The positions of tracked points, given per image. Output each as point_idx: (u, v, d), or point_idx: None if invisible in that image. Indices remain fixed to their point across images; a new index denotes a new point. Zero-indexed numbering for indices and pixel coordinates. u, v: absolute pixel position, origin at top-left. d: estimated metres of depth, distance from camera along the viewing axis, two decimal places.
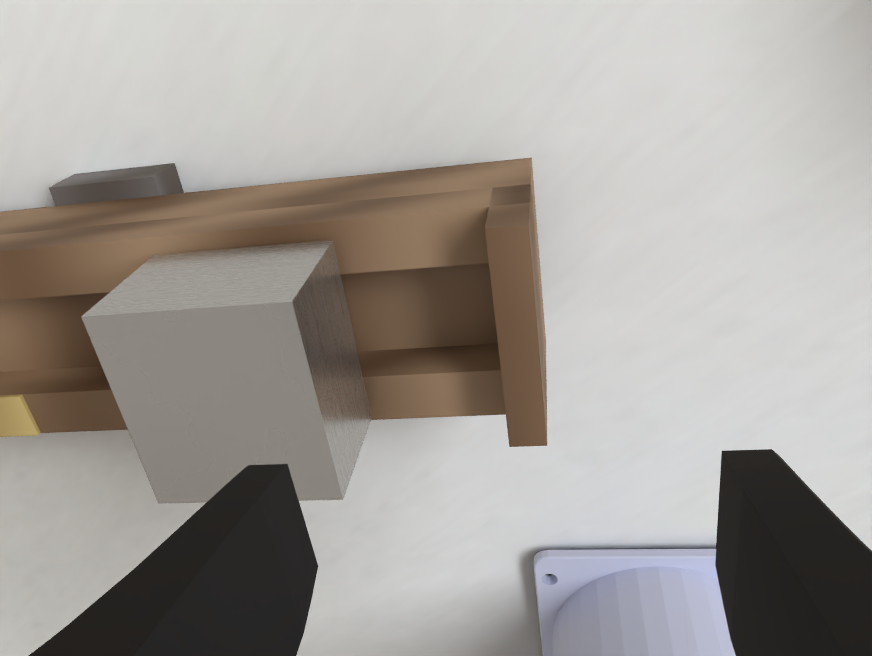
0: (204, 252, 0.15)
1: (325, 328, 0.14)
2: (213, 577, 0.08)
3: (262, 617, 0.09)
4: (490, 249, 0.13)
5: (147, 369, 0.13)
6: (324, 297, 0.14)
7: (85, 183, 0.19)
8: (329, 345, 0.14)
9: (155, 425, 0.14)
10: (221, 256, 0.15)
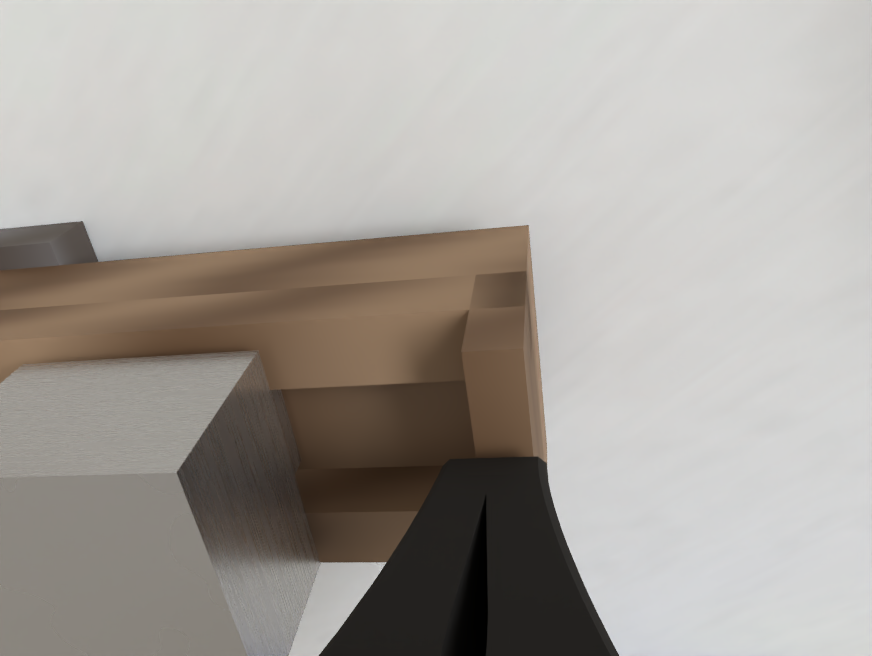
0: (88, 363, 0.11)
1: (241, 482, 0.10)
2: (468, 577, 0.08)
3: None
4: (469, 379, 0.10)
5: None
6: (240, 438, 0.10)
7: None
8: (248, 503, 0.10)
9: (6, 615, 0.10)
10: (107, 372, 0.11)
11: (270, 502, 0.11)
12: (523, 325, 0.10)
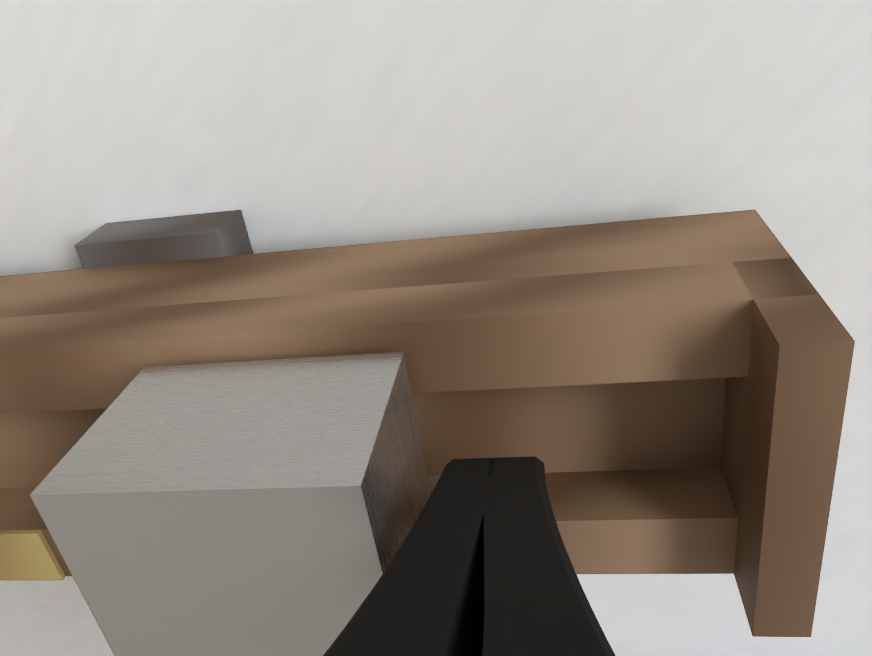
0: (216, 365, 0.11)
1: (398, 493, 0.09)
2: (472, 577, 0.08)
3: None
4: (782, 375, 0.09)
5: (133, 566, 0.09)
6: (396, 446, 0.09)
7: (124, 239, 0.14)
8: (403, 515, 0.09)
9: (146, 637, 0.09)
10: (241, 375, 0.10)
11: (416, 513, 0.10)
12: (833, 315, 0.09)
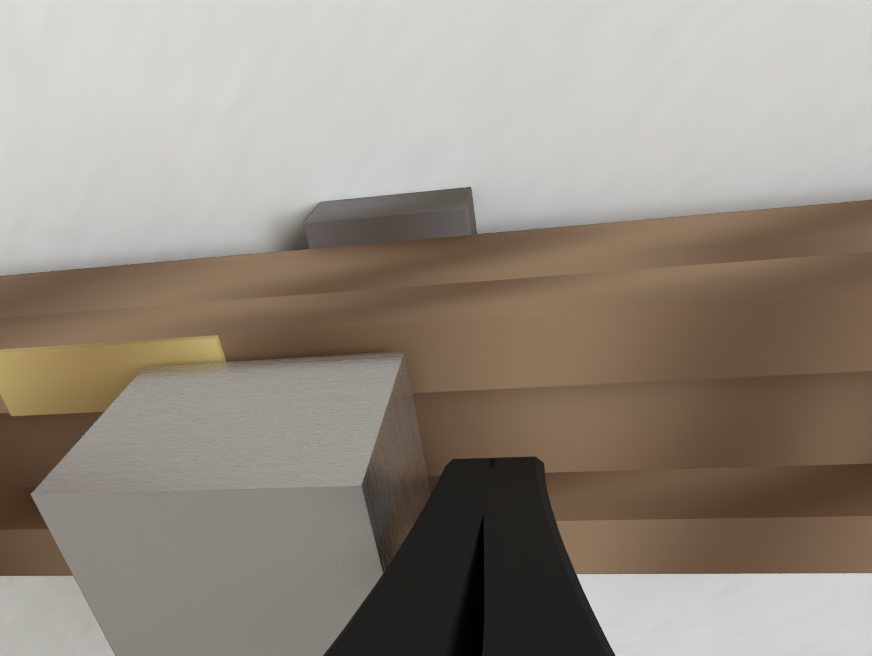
0: (217, 365, 0.11)
1: (399, 493, 0.09)
2: (472, 577, 0.08)
3: None
4: None
5: (133, 566, 0.09)
6: (397, 446, 0.09)
7: (358, 217, 0.13)
8: (404, 515, 0.10)
9: (147, 636, 0.09)
10: (242, 375, 0.10)
11: (416, 513, 0.10)
12: None
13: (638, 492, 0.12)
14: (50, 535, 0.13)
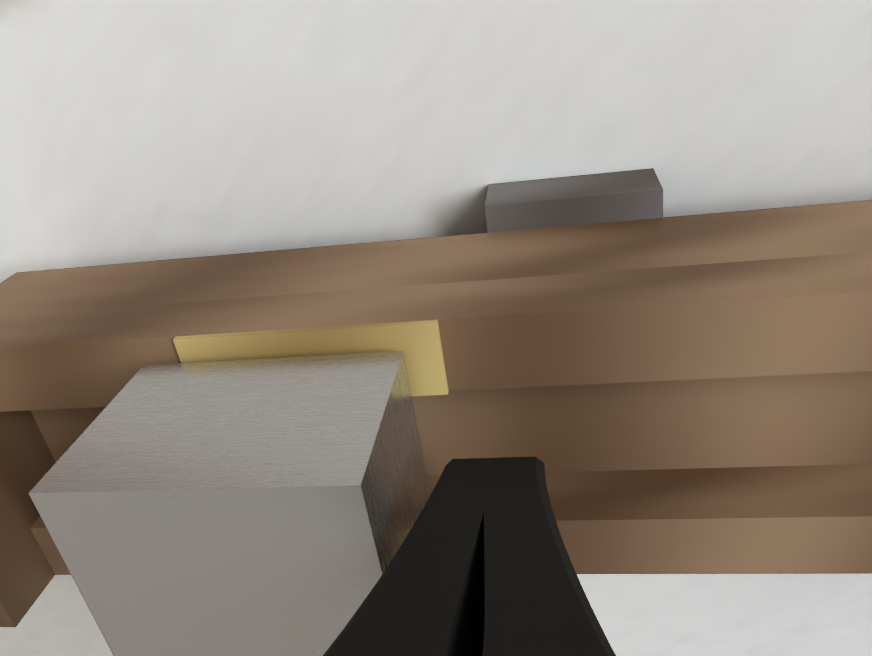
0: (215, 364, 0.11)
1: (398, 492, 0.09)
2: (472, 577, 0.08)
3: None
4: None
5: (131, 565, 0.09)
6: (396, 445, 0.09)
7: (544, 199, 0.12)
8: (403, 514, 0.09)
9: (144, 636, 0.09)
10: (241, 374, 0.10)
11: (415, 513, 0.10)
12: None
13: (856, 487, 0.11)
14: None
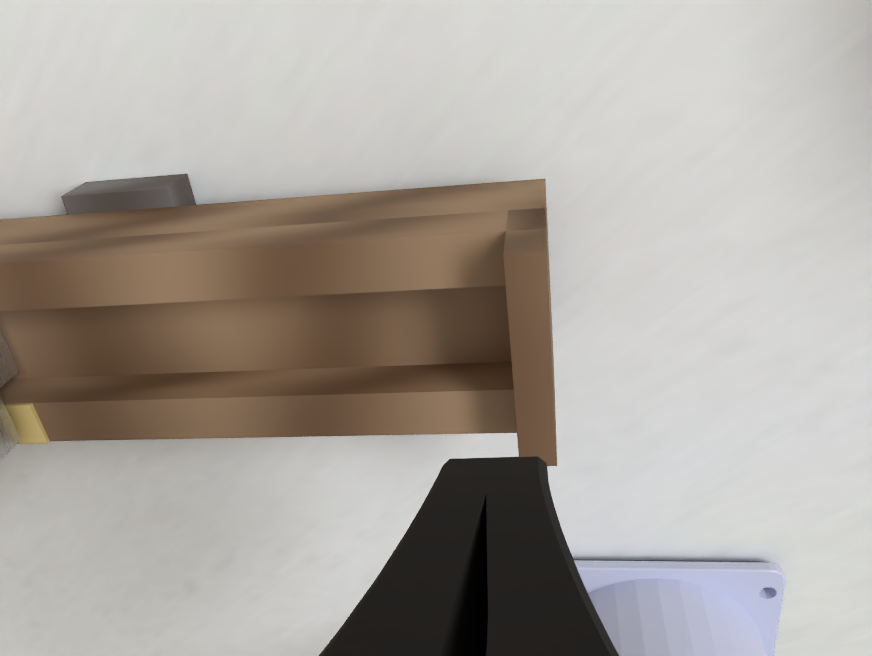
0: None
1: None
2: (469, 577, 0.08)
3: None
4: (508, 275, 0.14)
5: None
6: None
7: (98, 193, 0.19)
8: None
9: None
10: None
11: None
12: (545, 239, 0.14)
13: (269, 382, 0.18)
14: None
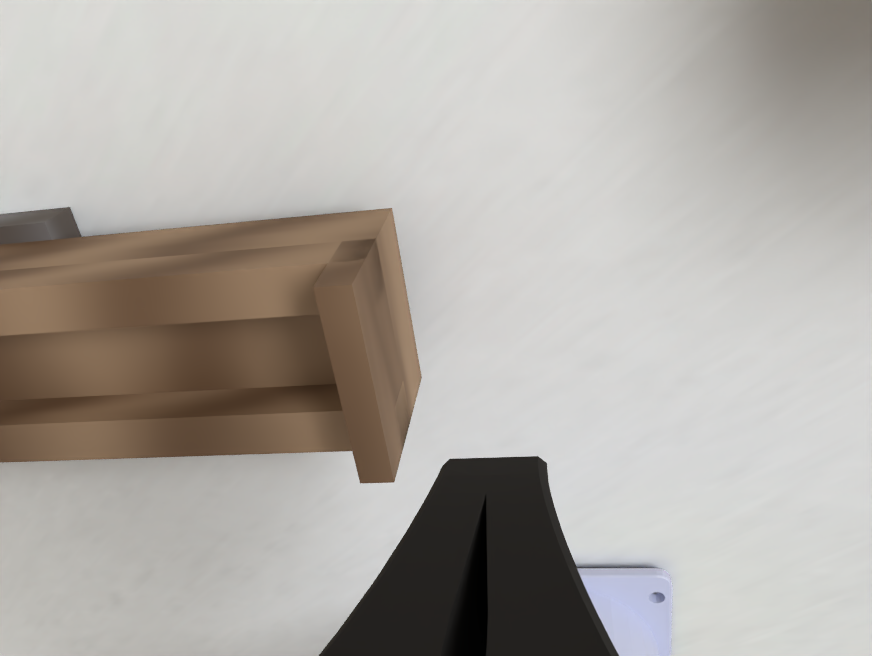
0: None
1: None
2: (468, 577, 0.08)
3: None
4: (320, 306, 0.14)
5: None
6: None
7: None
8: None
9: None
10: None
11: None
12: (358, 271, 0.15)
13: (140, 405, 0.19)
14: None
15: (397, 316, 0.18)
